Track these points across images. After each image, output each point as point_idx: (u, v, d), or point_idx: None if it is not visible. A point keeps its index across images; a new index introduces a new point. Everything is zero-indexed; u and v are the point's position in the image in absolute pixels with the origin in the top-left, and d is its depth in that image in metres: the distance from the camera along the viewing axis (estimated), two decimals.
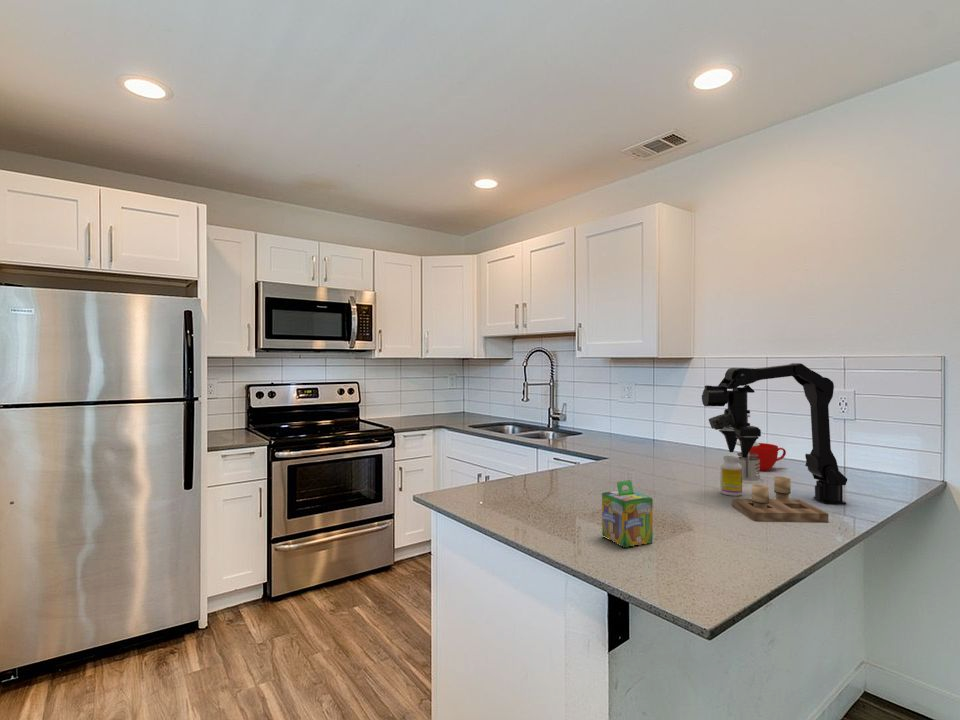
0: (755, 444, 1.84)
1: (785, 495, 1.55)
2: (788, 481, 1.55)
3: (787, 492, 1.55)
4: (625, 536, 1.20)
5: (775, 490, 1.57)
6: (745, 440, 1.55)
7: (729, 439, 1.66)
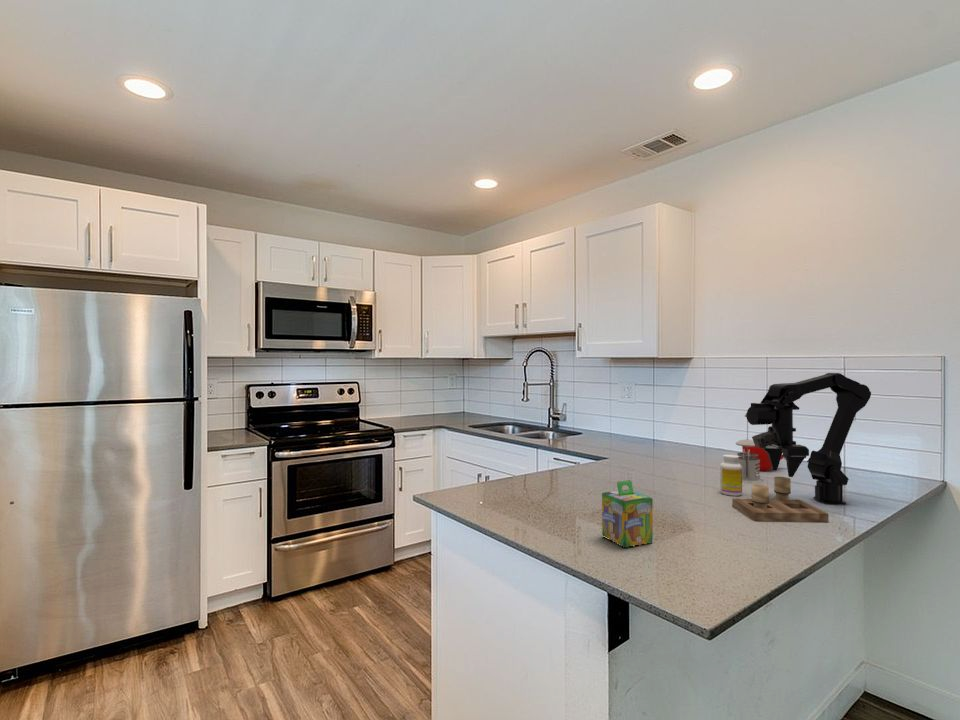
0: None
1: (785, 495, 1.55)
2: (788, 481, 1.55)
3: (787, 492, 1.55)
4: (625, 536, 1.20)
5: (775, 490, 1.57)
6: (792, 459, 1.51)
7: (772, 456, 1.62)
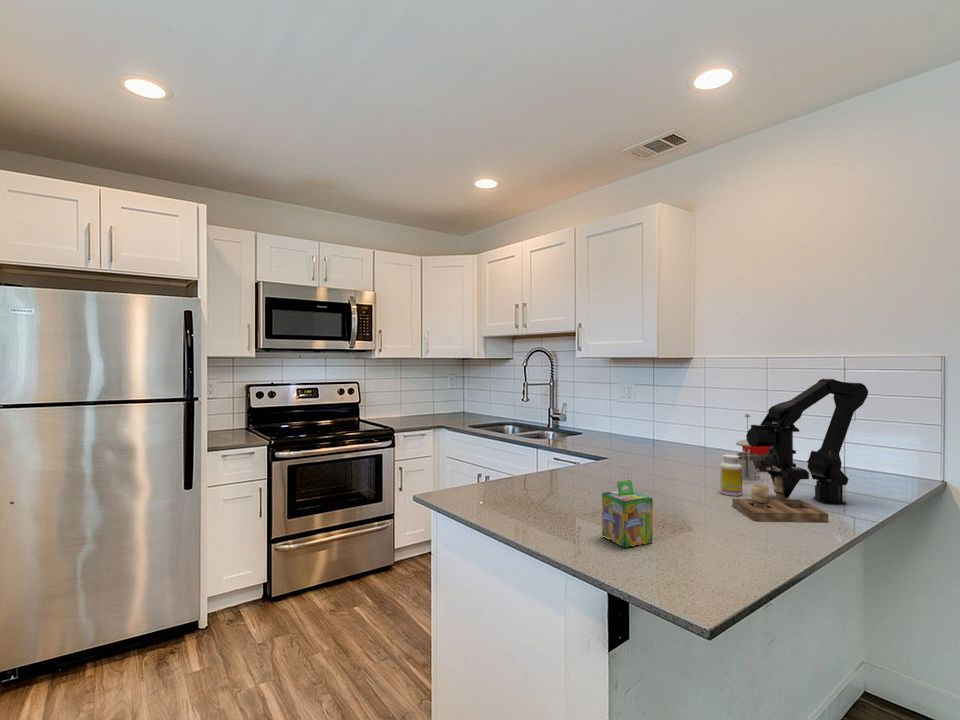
0: None
1: None
2: None
3: None
4: (625, 536, 1.20)
5: (775, 490, 1.57)
6: (788, 480, 1.53)
7: None
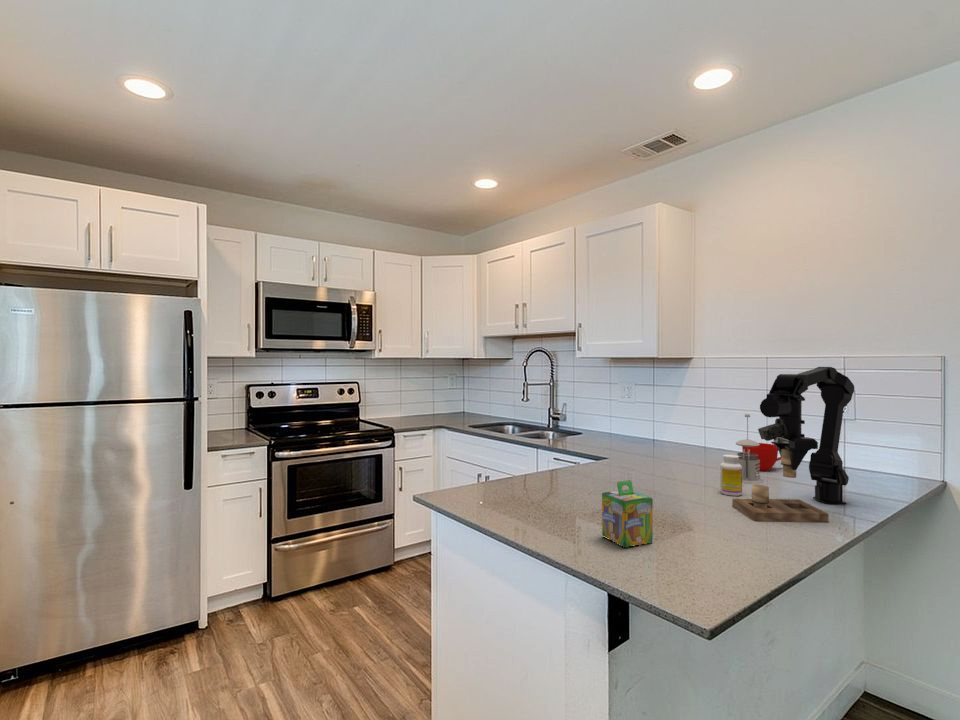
0: (755, 444, 1.84)
1: None
2: None
3: None
4: (625, 536, 1.20)
5: (782, 462, 1.50)
6: (796, 451, 1.46)
7: None
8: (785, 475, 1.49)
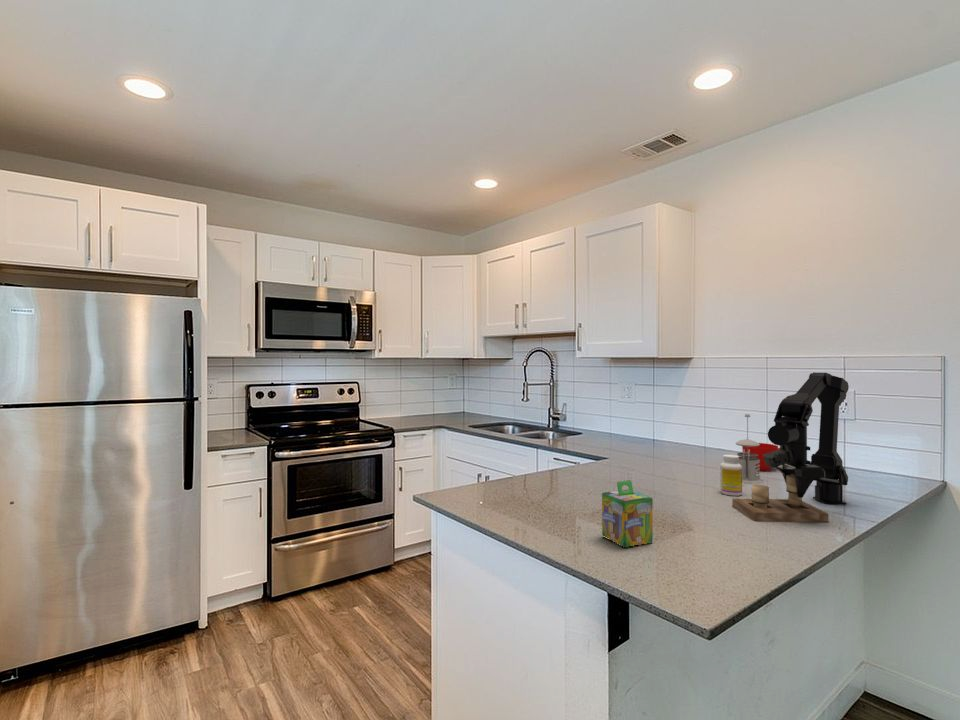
0: (755, 444, 1.84)
1: None
2: None
3: None
4: (625, 536, 1.20)
5: (787, 489, 1.46)
6: (802, 479, 1.43)
7: None
8: (791, 502, 1.46)
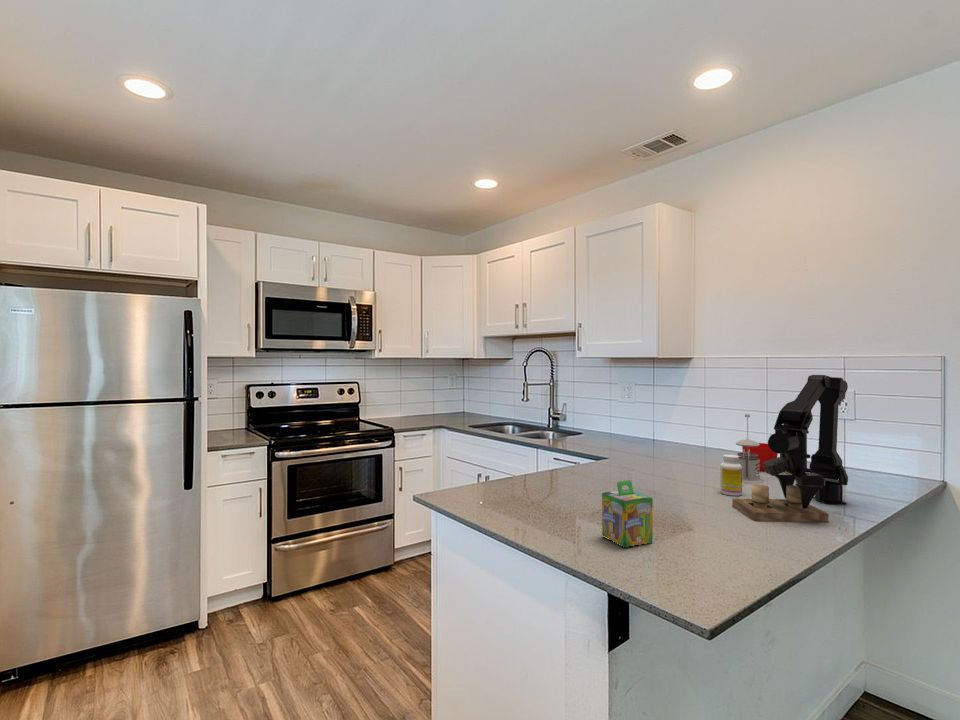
0: (755, 444, 1.84)
1: (798, 505, 1.45)
2: None
3: (800, 502, 1.44)
4: (625, 536, 1.20)
5: (787, 500, 1.46)
6: (806, 489, 1.40)
7: (784, 484, 1.51)
8: None
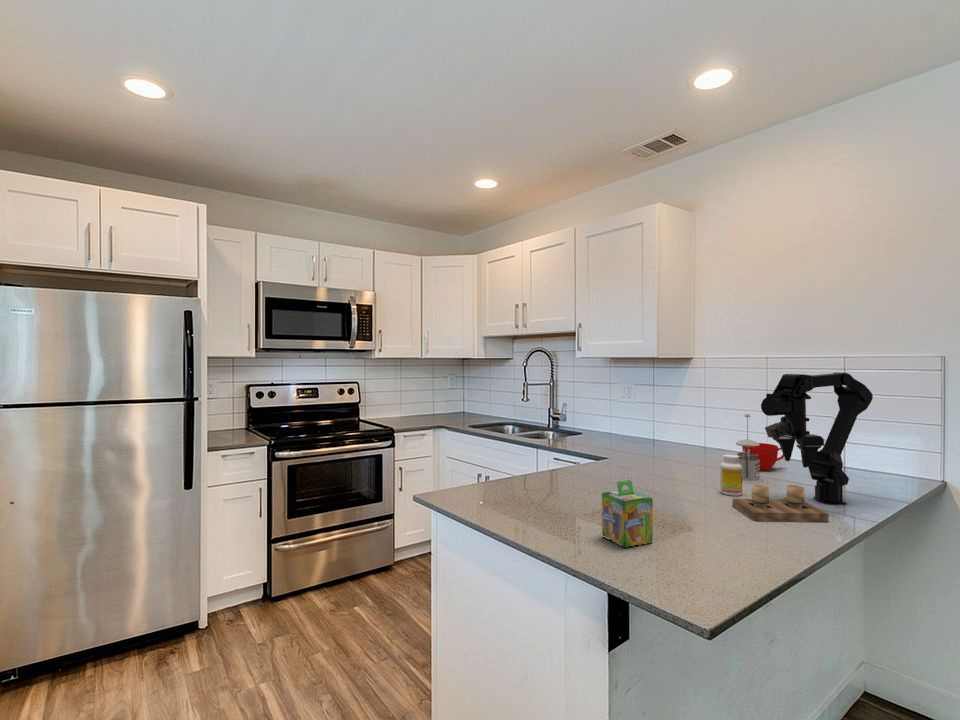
0: (755, 444, 1.84)
1: (798, 505, 1.45)
2: (801, 490, 1.44)
3: (800, 502, 1.44)
4: (625, 536, 1.20)
5: (787, 500, 1.46)
6: (806, 449, 1.50)
7: (784, 447, 1.60)
8: None
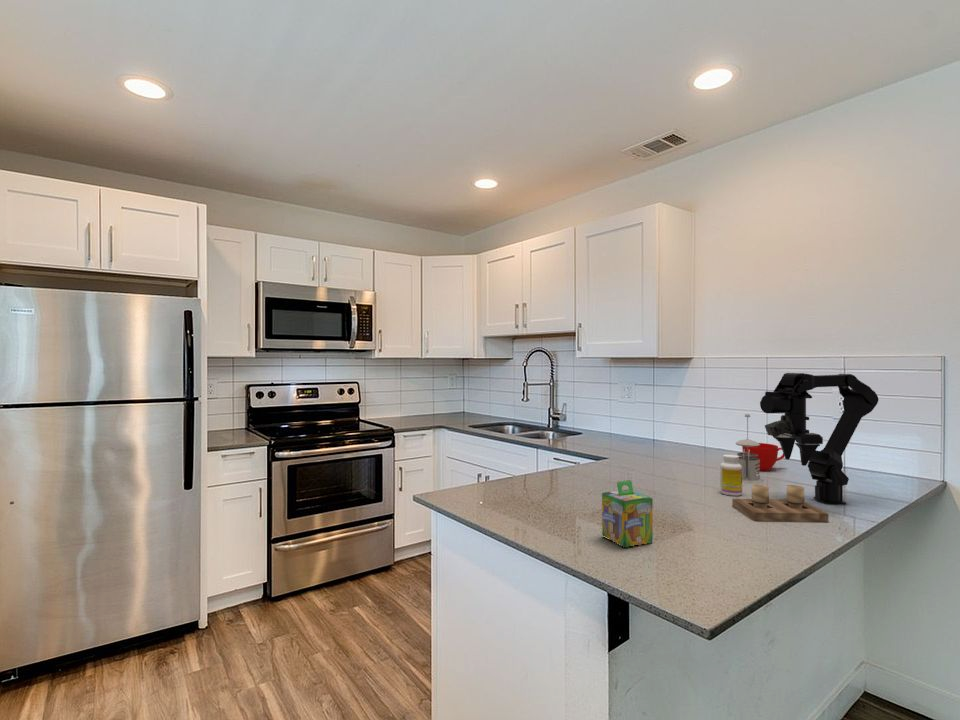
0: (755, 444, 1.84)
1: (798, 505, 1.45)
2: (801, 490, 1.44)
3: (800, 502, 1.44)
4: (625, 536, 1.20)
5: (787, 500, 1.46)
6: (805, 447, 1.51)
7: (785, 446, 1.62)
8: None
